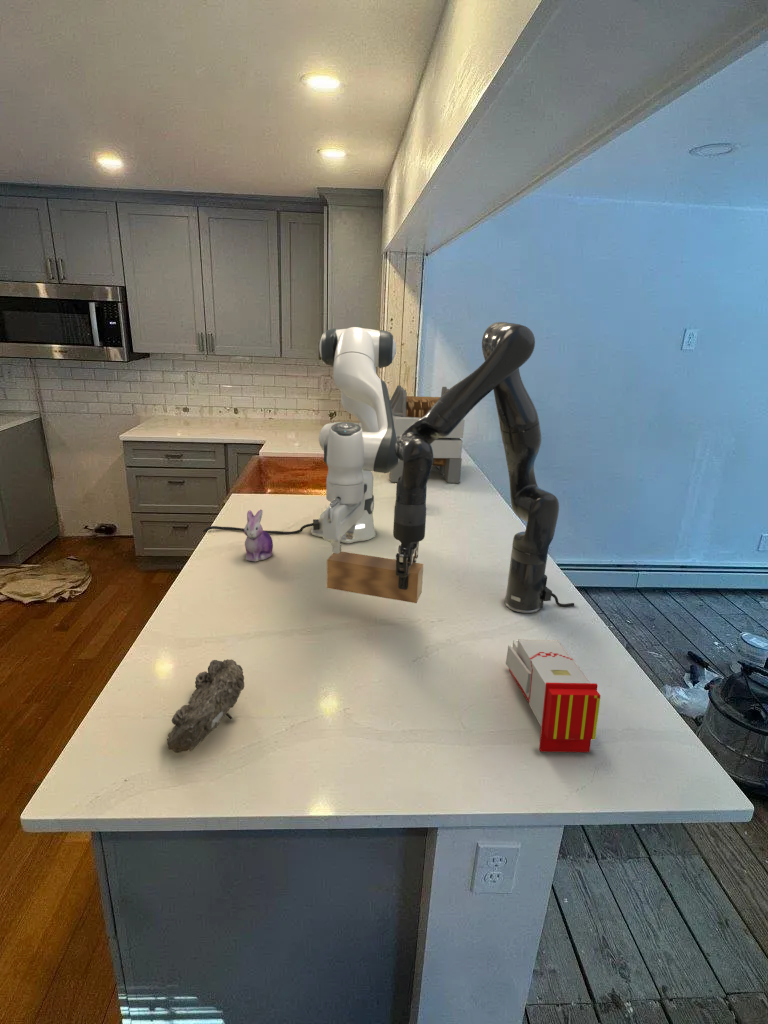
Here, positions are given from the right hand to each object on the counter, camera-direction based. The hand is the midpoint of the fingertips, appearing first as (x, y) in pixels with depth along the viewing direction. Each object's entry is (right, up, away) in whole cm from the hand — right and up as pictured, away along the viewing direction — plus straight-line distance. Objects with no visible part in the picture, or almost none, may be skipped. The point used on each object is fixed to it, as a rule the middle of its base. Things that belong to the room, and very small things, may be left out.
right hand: (406, 582), depth 139 cm
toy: (+27, -22, -23) cm, 42 cm away
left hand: (-15, +9, +1) cm, 18 cm away
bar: (-8, -2, +3) cm, 9 cm away
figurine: (-45, +3, +38) cm, 59 cm away
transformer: (+12, +36, +136) cm, 141 cm away
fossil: (-38, -22, -31) cm, 54 cm away
